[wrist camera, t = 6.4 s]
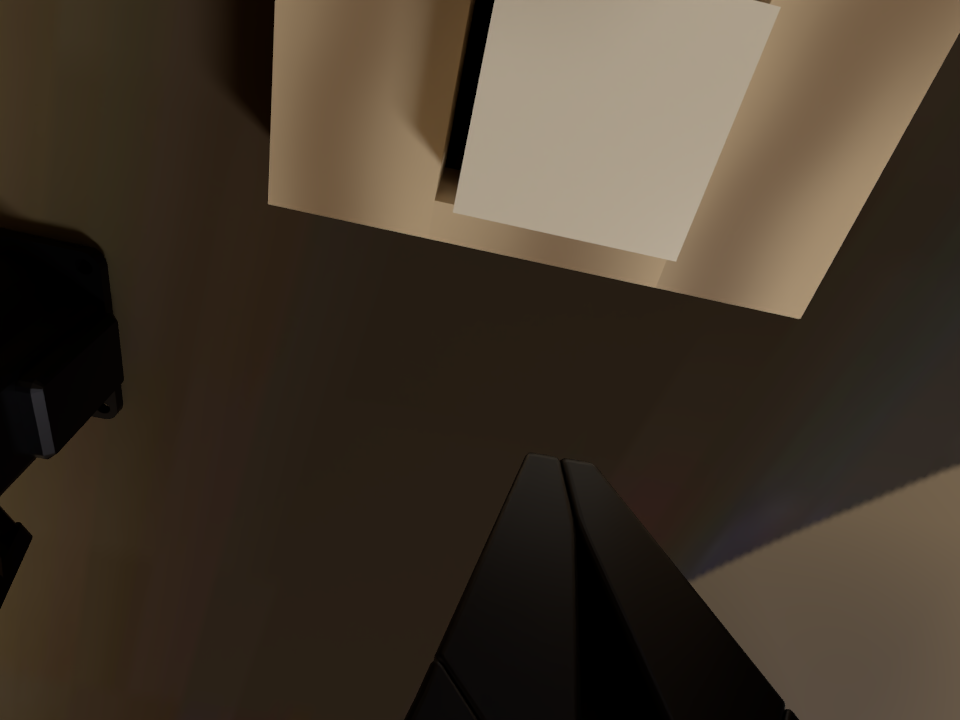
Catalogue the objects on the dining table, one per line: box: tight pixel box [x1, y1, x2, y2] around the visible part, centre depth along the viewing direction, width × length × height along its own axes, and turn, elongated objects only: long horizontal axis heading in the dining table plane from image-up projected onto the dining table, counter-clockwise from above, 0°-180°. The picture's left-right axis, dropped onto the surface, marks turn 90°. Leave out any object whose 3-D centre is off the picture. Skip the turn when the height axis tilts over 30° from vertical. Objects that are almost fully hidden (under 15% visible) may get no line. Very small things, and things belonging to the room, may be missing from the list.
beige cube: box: [453, 0, 781, 262], centre depth 14 cm, size 5×5×5 cm
